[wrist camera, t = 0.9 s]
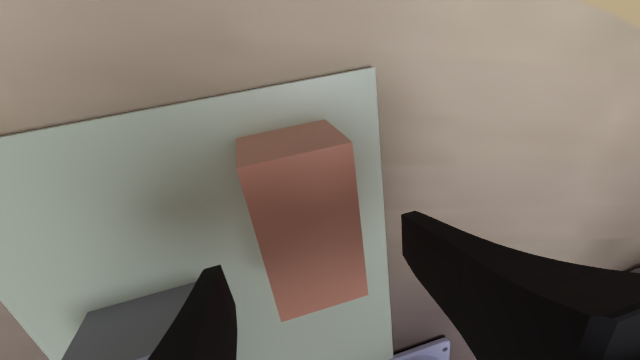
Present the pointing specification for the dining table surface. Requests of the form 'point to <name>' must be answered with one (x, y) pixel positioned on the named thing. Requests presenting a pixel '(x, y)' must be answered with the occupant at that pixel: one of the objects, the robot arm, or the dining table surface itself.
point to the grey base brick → (127, 327)
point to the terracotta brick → (305, 215)
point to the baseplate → (181, 217)
